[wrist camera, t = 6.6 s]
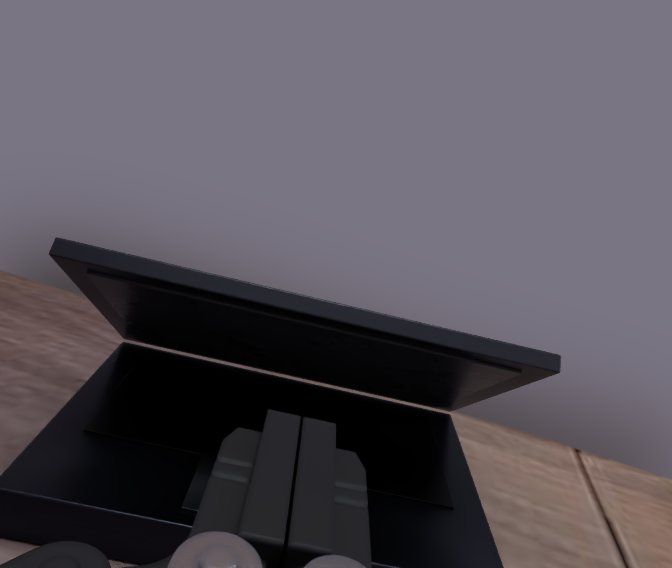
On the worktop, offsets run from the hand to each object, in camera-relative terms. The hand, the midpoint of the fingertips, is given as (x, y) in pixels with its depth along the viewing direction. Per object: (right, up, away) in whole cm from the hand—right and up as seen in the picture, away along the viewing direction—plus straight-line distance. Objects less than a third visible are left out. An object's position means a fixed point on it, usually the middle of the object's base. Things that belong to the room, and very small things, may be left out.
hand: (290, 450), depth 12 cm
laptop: (-2, -4, +10) cm, 11 cm away
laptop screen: (-1, +1, +9) cm, 9 cm away
